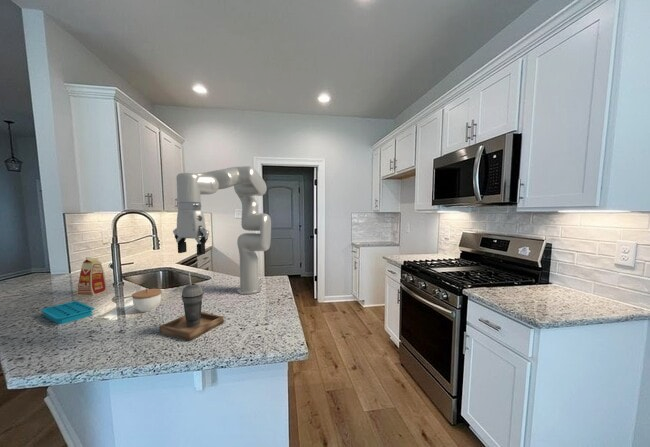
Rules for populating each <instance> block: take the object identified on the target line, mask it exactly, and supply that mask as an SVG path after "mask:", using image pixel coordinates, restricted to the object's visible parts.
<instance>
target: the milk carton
mask: <svg viewBox="0 0 650 447" xmlns="http://www.w3.org/2000/svg"><path fill="white" fill-rule="evenodd" d="M107 291H108V289H107V282H106V276H105V271H104V267H103V264H102V262H101V261H100V260H99V257H87V256H86V257H85V260H84V261H83V262H82V265H81V269H80V272H79V278H78V282H77V291H76V296H77V297H95V296H98V295H101V294H103V293H106V292H107Z"/></svg>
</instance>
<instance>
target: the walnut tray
mask: <svg viewBox="0 0 650 447" xmlns="http://www.w3.org/2000/svg"><path fill="white" fill-rule="evenodd" d="M224 322H225V321H224V316H222V315H217V314H214V313H213V314H212V313H209V312H203V311H201V320H200V325H198V326H196V327H187V324H186V318H185V315H182V316H180V317H178V318H176V319H173V320H171V321H169V322H166V323H164V324H161V325H160V326H159V333H160V334H163V335H167V336H169V337H170V336H171V337H174V338H177V339H180V340H184V341H188V342H191V341H193V340H195V339H196V338H198V337H200V336H202V335H203V334H206V333H207V332H210V331H211V330H213V329H214V328H217V327H218V326H221V325H222V324H224Z"/></svg>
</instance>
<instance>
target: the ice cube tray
mask: <svg viewBox="0 0 650 447" xmlns="http://www.w3.org/2000/svg"><path fill="white" fill-rule="evenodd" d="M94 310H95V308H94V307H93V306H90V305H87V304H86V303H83V302H81V301H78V300H74V301H70V302H66V303H62V304H56V305H53V306H48V307H44V308H41V309H40V310H39V311H41V312H42V313H43V316H44V317H45V318H47V319H48V320H50V321H52V322H54V323H55V324H58V325H63V324H66V323H69V322H74V321H77V320H80V319H85V318H87V317H91V316H92V313H93V312H92V311H94Z"/></svg>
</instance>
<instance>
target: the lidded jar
mask: <svg viewBox="0 0 650 447" xmlns="http://www.w3.org/2000/svg"><path fill="white" fill-rule="evenodd" d="M162 293H163V291H162V289H160V288H150V289H149V287H148V288H145V289H144V290H140V291H136V292H134V293H133V294H131V295H132V296H131V297H132V303H133V304H132V305H133V306H134V308H135V309H136V310H137V311H139V312H140V313H148V312H151V311H154V310H156V309H157V307H158V306H159V305H160V304H161V301H162Z"/></svg>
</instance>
